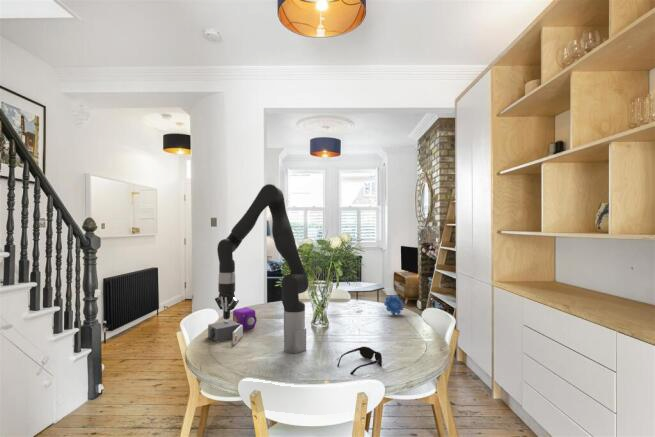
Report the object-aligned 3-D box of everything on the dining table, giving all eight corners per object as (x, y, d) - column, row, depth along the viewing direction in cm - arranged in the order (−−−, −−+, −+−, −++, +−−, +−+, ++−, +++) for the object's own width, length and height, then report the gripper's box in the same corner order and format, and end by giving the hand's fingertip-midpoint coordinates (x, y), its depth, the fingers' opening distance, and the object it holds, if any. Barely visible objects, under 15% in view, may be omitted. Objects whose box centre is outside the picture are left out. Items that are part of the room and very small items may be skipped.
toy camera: (246, 332, 175) (246, 313, 176) (229, 328, 184) (229, 309, 184) (262, 327, 184) (262, 308, 184) (245, 323, 192) (245, 305, 192)
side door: (243, 335, 170) (243, 324, 170) (236, 344, 158) (236, 332, 158) (240, 335, 170) (240, 324, 170) (232, 344, 158) (232, 332, 158)
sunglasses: (387, 367, 134) (387, 354, 134) (355, 378, 125) (355, 364, 125) (363, 356, 145) (363, 344, 145) (333, 365, 136) (333, 352, 136)
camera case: (240, 336, 170) (240, 322, 170) (214, 342, 161) (214, 328, 161) (231, 331, 177) (231, 318, 177) (205, 337, 168) (205, 323, 168)
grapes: (385, 316, 206) (385, 296, 206) (383, 313, 213) (383, 293, 213) (405, 316, 206) (404, 296, 206) (402, 313, 213) (402, 293, 213)
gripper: (243, 281, 162) (243, 318, 162) (221, 279, 168) (221, 315, 168) (232, 284, 155) (231, 323, 155) (210, 281, 161) (209, 319, 161)
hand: (226, 318), depth 161 cm, fingers closed
